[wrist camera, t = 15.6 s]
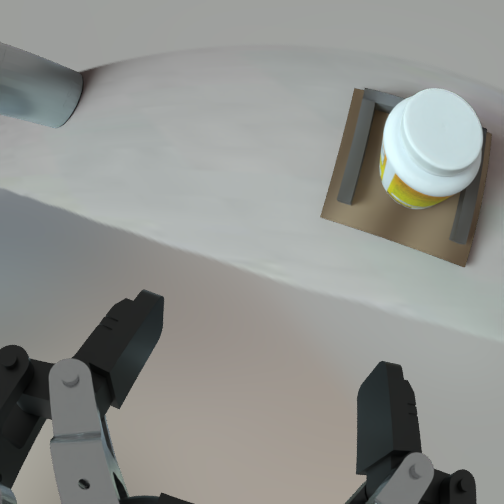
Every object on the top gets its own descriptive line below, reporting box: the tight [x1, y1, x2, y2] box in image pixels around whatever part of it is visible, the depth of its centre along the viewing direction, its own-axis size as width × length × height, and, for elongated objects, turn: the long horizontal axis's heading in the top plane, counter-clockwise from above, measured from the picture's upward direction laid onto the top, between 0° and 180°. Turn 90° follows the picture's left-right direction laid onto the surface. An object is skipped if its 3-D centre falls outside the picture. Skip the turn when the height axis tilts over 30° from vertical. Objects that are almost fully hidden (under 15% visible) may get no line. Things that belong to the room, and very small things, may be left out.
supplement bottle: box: [379, 88, 483, 209], centre depth 15 cm, size 6×6×10 cm
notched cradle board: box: [320, 88, 492, 267], centre depth 20 cm, size 12×11×2 cm
